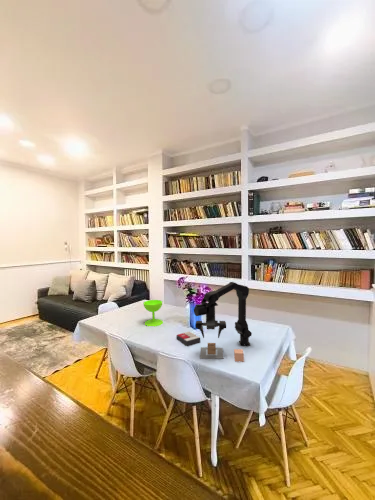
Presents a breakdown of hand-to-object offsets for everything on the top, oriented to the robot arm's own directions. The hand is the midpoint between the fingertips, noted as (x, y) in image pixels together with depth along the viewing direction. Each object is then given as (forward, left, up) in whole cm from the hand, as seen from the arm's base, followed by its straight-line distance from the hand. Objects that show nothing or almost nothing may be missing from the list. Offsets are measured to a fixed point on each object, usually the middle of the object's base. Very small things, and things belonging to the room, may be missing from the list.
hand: (211, 337), depth 155 cm
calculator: (-18, -16, -11) cm, 27 cm away
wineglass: (-52, -49, -10) cm, 72 cm away
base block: (0, 0, -9) cm, 9 cm away
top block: (+7, +16, -10) cm, 20 cm away
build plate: (0, 0, -10) cm, 10 cm away
